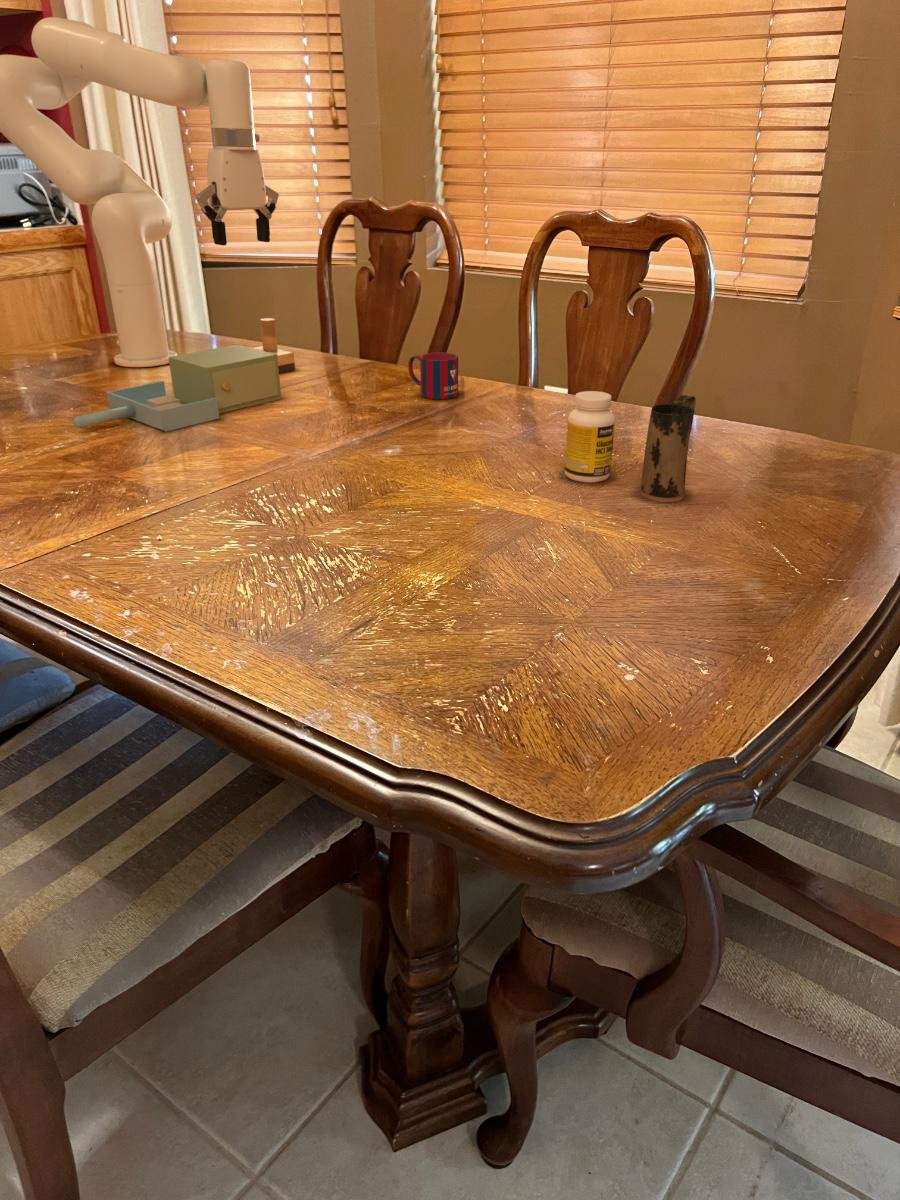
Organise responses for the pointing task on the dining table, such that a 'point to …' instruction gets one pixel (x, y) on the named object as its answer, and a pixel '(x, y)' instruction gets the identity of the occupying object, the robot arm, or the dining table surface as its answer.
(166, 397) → the felt
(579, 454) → the pill bottle
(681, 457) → the mug
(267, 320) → the tan two-tone stamp part
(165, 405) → the felt
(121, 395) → the dustpan
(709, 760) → the dining table surface
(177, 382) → the cabinet
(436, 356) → the cup
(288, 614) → the dining table surface
